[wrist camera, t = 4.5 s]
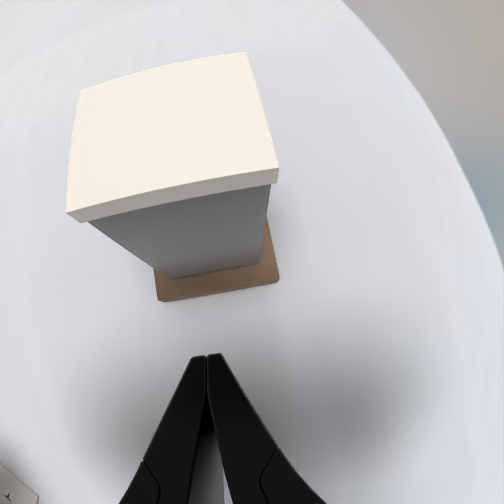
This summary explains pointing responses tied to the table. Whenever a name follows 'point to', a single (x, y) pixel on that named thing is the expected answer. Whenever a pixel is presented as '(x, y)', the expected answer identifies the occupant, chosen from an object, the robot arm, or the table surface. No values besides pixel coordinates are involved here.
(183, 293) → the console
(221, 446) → the robot arm
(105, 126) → the gray cream rectangular block
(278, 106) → the table surface
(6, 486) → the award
